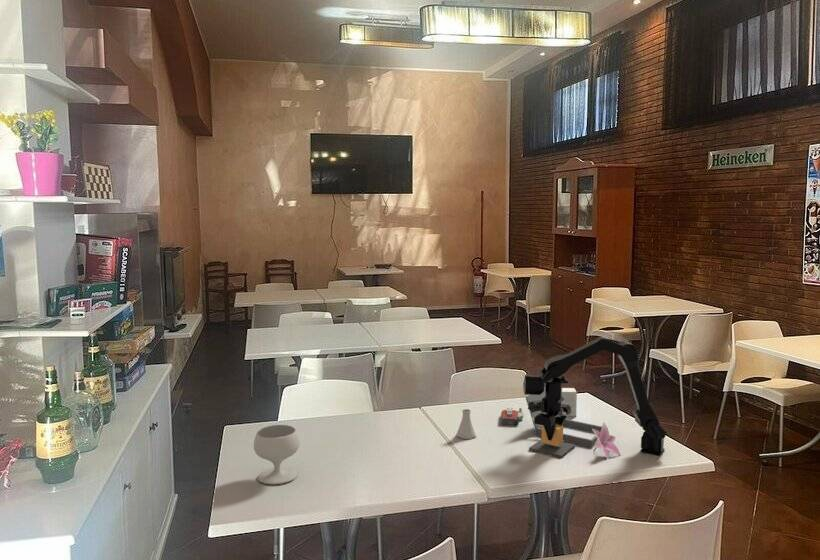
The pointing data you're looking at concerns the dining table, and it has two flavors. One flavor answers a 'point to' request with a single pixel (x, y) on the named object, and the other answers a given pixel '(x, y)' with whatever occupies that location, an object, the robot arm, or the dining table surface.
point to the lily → (605, 441)
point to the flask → (466, 426)
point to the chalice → (276, 452)
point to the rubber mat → (552, 449)
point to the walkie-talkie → (511, 416)
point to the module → (556, 438)
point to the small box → (570, 400)
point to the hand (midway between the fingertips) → (552, 438)
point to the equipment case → (566, 423)
